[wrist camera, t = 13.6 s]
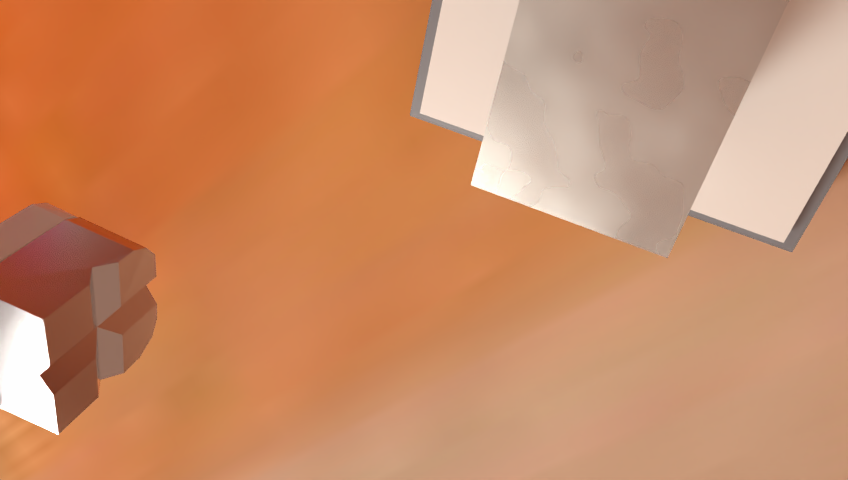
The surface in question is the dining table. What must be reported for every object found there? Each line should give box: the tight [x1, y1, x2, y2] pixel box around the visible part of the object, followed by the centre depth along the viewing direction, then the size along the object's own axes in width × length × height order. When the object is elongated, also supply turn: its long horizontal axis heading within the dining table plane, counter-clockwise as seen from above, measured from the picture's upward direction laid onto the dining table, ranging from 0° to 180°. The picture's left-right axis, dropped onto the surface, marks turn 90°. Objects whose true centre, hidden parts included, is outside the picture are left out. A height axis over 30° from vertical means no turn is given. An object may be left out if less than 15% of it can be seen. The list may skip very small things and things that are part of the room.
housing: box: [471, 0, 789, 258], centre depth 20 cm, size 5×7×8 cm
